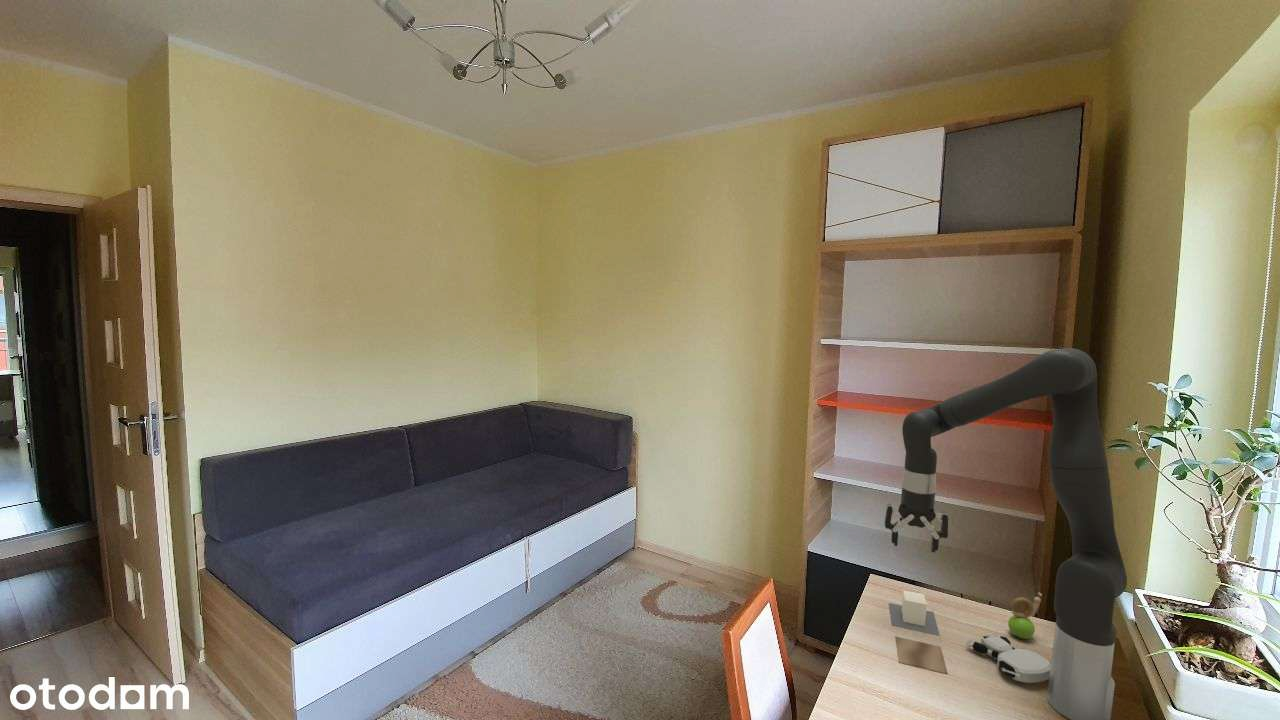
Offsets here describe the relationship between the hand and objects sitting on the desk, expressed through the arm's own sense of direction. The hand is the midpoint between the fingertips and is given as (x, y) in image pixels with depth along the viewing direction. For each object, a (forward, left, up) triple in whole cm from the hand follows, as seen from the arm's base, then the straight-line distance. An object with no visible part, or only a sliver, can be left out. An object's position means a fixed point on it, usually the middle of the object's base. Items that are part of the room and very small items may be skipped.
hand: (913, 547), depth 134 cm
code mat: (-1, -2, -21) cm, 21 cm away
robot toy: (-20, +9, -21) cm, 31 cm away
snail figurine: (-26, -5, -21) cm, 34 cm away
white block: (-1, -2, -20) cm, 20 cm away
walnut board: (-1, +13, -21) cm, 24 cm away
